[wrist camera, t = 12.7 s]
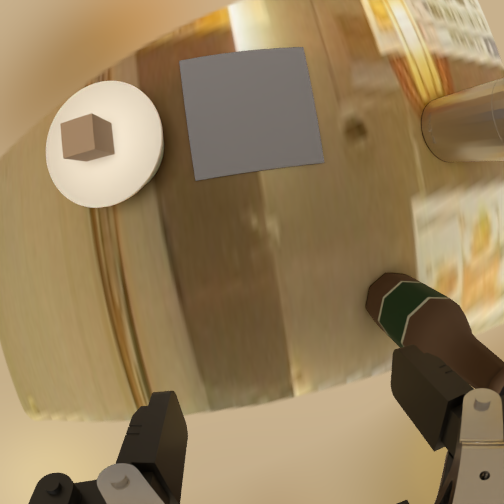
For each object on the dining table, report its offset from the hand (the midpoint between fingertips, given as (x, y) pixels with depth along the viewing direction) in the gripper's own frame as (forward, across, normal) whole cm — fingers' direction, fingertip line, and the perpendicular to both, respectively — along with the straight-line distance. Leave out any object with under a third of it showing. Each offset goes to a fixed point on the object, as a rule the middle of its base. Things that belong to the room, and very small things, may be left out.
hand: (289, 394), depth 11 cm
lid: (+22, +13, -14) cm, 29 cm away
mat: (+28, -3, -16) cm, 32 cm away
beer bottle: (+28, -18, +10) cm, 35 cm away
